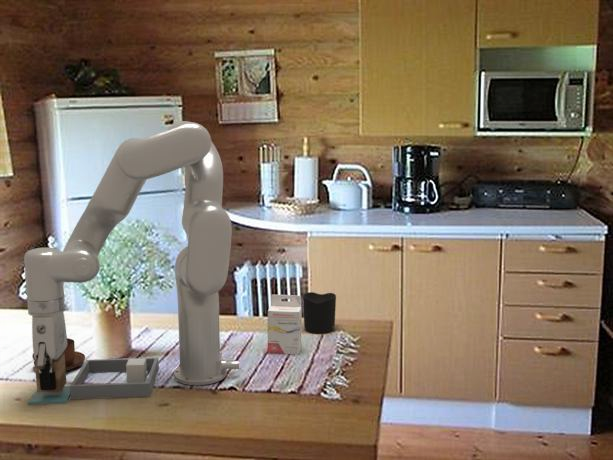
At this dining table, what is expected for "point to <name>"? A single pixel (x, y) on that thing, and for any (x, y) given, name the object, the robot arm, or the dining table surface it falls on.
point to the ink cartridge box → (284, 324)
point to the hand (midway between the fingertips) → (52, 383)
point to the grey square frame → (112, 389)
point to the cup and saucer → (71, 356)
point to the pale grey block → (136, 370)
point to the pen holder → (319, 312)
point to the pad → (51, 397)
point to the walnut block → (59, 374)
